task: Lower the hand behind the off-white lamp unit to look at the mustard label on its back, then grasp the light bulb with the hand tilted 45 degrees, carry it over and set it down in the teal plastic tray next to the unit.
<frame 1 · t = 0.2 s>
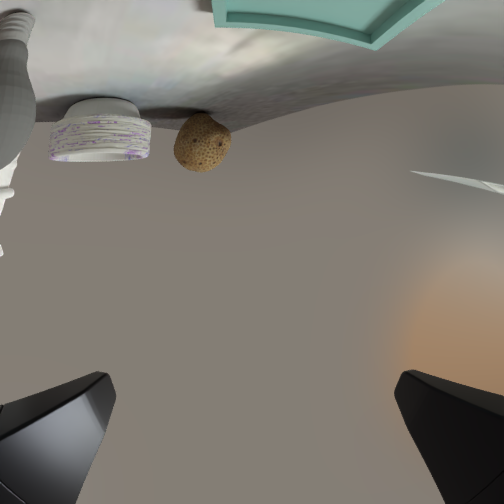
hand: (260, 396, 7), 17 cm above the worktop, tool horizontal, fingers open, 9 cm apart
paper bowls: (102, 104, 31), on the worktop
natural sponge: (204, 111, 41), on the worktop
light bulb: (20, 14, 6), on the worktop
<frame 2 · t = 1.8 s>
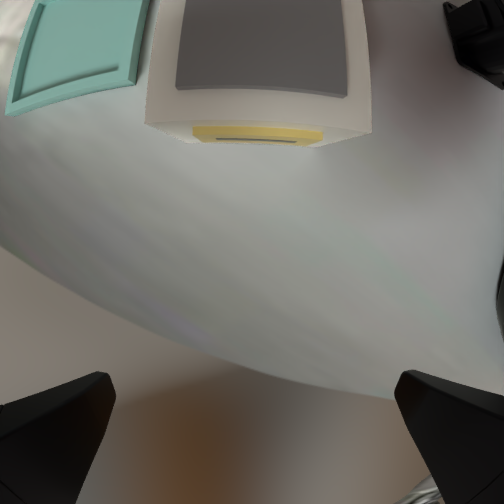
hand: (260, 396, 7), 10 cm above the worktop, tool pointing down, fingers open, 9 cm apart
lamp unit: (254, 75, 13), on the worktop
tray: (77, 33, 11), on the worktop
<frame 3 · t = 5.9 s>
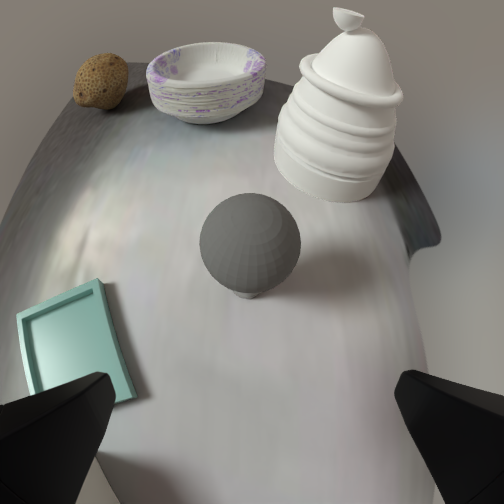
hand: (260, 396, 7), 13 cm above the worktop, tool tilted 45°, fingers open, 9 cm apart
paper bowls: (208, 107, 35), on the worktop
natural sponge: (108, 109, 36), on the worktop
honey pot: (327, 161, 31), on the worktop
lamp unit: (76, 488, 13), on the worktop
light bulb: (247, 286, 23), on the worktop
tray: (69, 354, 19), on the worktop
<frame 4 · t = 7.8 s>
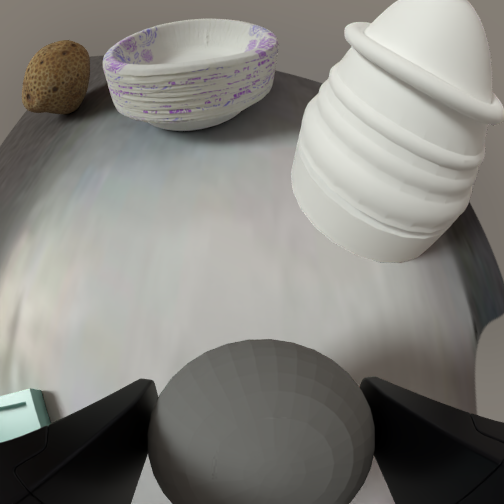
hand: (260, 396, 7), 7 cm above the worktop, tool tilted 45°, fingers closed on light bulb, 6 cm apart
paper bowls: (194, 106, 25), on the worktop
natural sponge: (68, 113, 25), on the worktop
honey pot: (369, 190, 20), on the worktop
light bulb: (251, 419, 12), on the worktop, touching gripper
tray: (19, 470, 8), on the worktop
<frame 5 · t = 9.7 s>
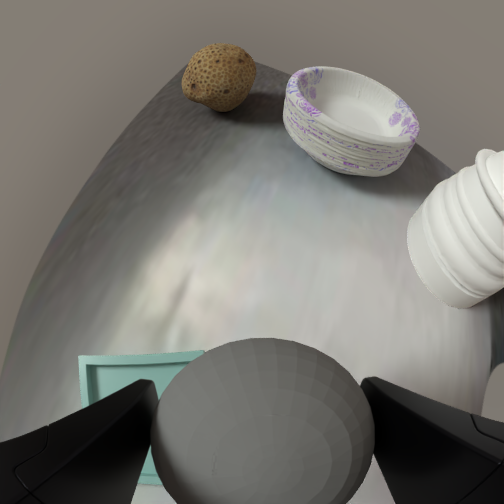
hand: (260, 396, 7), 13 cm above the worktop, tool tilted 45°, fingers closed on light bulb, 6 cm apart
paper bowls: (340, 148, 32), on the worktop
natural sponge: (219, 110, 34), on the worktop
honey pot: (450, 254, 25), on the worktop
light bulb: (254, 417, 13), point 6 cm above the worktop, touching gripper
tray: (147, 420, 17), on the worktop
when the fingers open (8 cm above the worktop, at t = 11.6 s): light bulb stays where it is, resting on tray.
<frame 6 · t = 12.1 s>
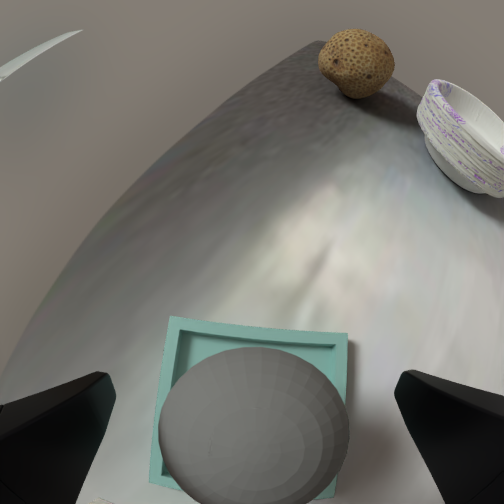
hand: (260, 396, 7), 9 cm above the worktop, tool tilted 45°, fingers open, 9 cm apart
paper bowls: (455, 164, 26), on the worktop
natural sponge: (346, 96, 31), on the worktop
light bulb: (251, 418, 14), resting on tray
tray: (250, 415, 14), on the worktop
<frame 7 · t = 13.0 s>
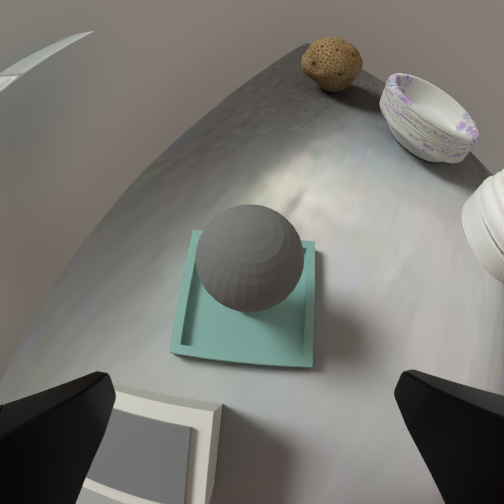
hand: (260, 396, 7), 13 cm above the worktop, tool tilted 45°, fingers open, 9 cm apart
paper bowls: (416, 141, 34), on the worktop
natural sponge: (324, 90, 39), on the worktop
honey pot: (492, 238, 27), on the worktop
lamp unit: (165, 437, 17), on the worktop
light bulb: (247, 300, 22), resting on tray
tray: (247, 299, 22), on the worktop
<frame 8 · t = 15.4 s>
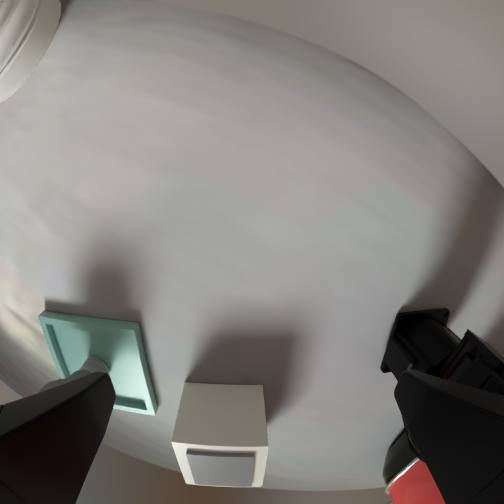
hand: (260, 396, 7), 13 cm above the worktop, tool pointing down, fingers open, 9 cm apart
honey pot: (14, 46, 13), on the worktop
toaster: (455, 423, 29), on the worktop
lamp unit: (224, 411, 24), on the worktop
light bulb: (99, 364, 22), resting on tray
tray: (99, 363, 22), on the worktop
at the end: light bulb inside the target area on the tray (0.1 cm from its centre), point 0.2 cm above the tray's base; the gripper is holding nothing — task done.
